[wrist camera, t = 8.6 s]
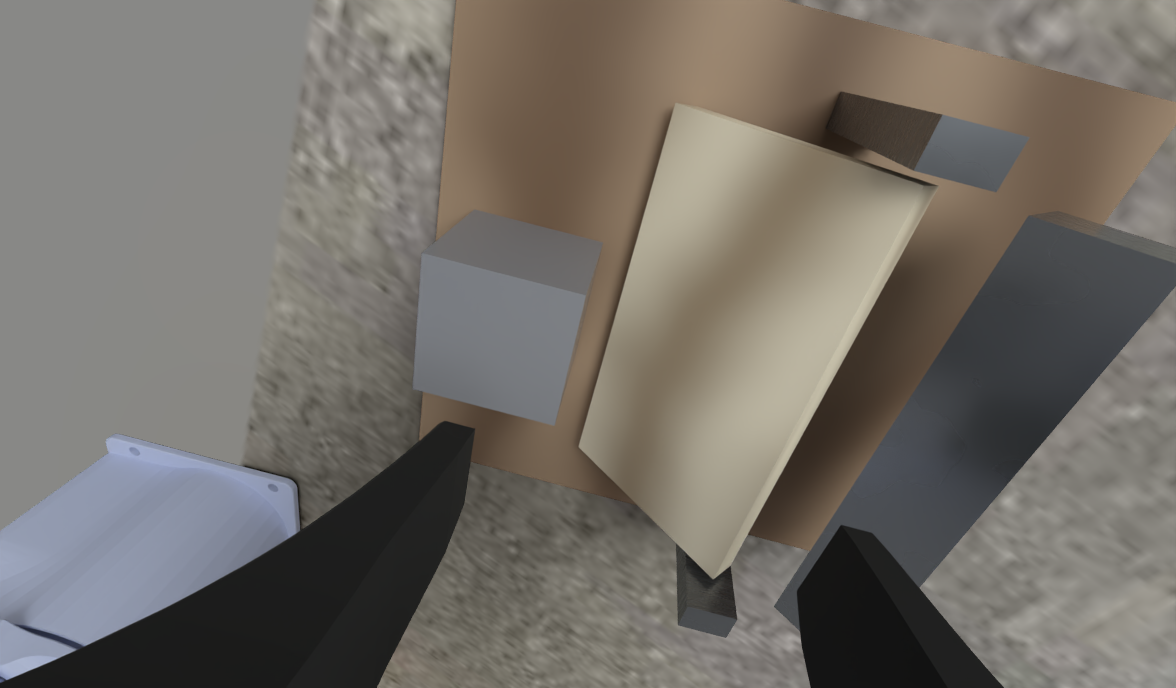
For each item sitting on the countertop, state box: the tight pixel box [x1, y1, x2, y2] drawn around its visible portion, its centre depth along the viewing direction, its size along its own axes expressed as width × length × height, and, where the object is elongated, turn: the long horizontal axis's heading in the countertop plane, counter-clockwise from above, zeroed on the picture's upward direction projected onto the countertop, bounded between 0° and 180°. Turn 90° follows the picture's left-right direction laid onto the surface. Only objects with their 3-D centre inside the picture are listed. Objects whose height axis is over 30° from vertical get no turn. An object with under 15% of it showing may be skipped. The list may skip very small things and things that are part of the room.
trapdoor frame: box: [419, 0, 1176, 638], centre depth 16 cm, size 20×19×7 cm
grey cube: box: [413, 209, 603, 426], centre depth 17 cm, size 4×4×4 cm
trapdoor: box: [579, 103, 1176, 631], centre depth 17 cm, size 11×13×4 cm
